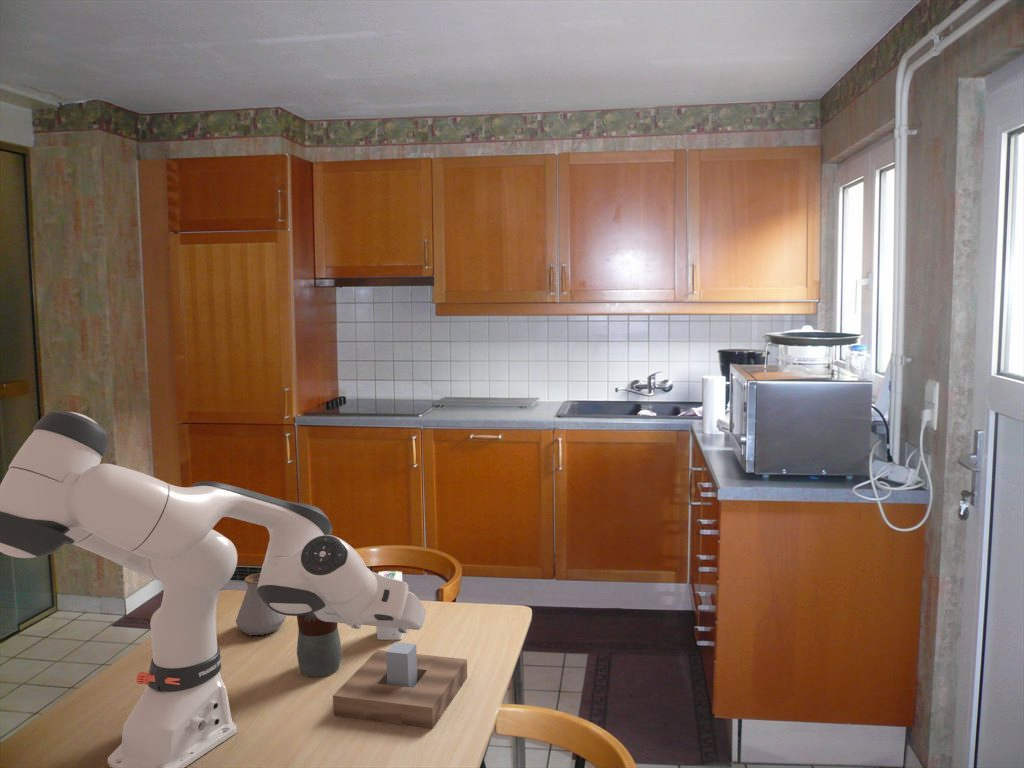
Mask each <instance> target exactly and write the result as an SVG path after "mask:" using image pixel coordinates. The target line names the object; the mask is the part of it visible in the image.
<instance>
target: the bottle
mask: <svg viewBox="0 0 1024 768" xmlns="http://www.w3.org/2000/svg"><path fill="white" fill-rule="evenodd" d="M296 620H297V627H298V633H297V643H296V644H297V645H296V656H297V662H298V667H299V669H300V672H301V674H302V675H304V676H306V677H310V678H322V677H328V676H330V675H332V674H334V673H337V672H338V670H339V669H340V665H341V661H342V651H343V649H342V643H341V637H340V633H339V628H338V623H336V622H325V621H322V620H320V619H318V618H317V616H316V615H315V614H314V612H313V613H311V614H307V615H302V616H296Z"/></svg>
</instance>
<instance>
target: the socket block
mask: <svg viewBox="0 0 1024 768" xmlns="http://www.w3.org/2000/svg"><path fill="white" fill-rule="evenodd" d="M386 651H387V650H381V649H380V650H379V649H377V650H376V651H375V652H373V654H372V655H371V656H369V658H368V659H367V660H366V661H365V662H364V663H363V664H362V665H361V666H360V667H359V668H358V669H357V670H356V671H355V672H354V673H353V674H352V675H351V677H349V678H348V679H347V681H346V682H344V684H343V685H342V686H341V687H340V688H338V690H337V691H335V693H334V694H333V695H332V703H333V704H332V705H333V707H332V708H333V716H334V717H342V718H350V719H357V720H365V721H373V722H382V723H389V724H396V725H404V726H411V727H420V728H429V729H434V728H435V726H436V725H437V724H438V722H439V721H440V719H441V717H442V716H443V715H444V713H445V712H444V711H447V708H449V706H450V704H451V703H452V702H453V700H454V698H455V696H456V695H457V694H458V692H459V691H460V689H462V687H463V685H464V684H463V683H465V682H466V681H467V679H468V659H467V658H458V657H448V656H439V655H438V656H437V655H428V654H421V653H417V680H418V682H417V684H416V685H415V686H414V688H411V687H402V686H394V685H387V666H386ZM465 680H466V681H465ZM452 699H453V700H452ZM442 714H443V715H442Z"/></svg>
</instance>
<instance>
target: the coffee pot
mask: <svg viewBox="0 0 1024 768" xmlns="http://www.w3.org/2000/svg"><path fill="white" fill-rule="evenodd" d="M260 574H261V572H258V573H253V574H252V573H251V574H250V575H247V576H246V577H245V578H244V582H245V584H246V585H247V589H246V592H245V594H244V596H243V600H242V602H241V605H240V608H239V610H238V613H237V616H236V620H235V624H236V625H237V627H238V629H240V630H241V631H242V632H243V633H245V632H246V633H247V634H250V635H249V636H251V635H262V636H265V635H264V634H267V635H269V634H268V633H270V634H272V633H271V632H273V633H275V632H276V631H277V630H278V629H279V628H280V627H281V626H282V625H283V624H284V622H285V621H286V617H287V615H283V614H280V613H277V612H275V611H273V610H272V609H270V608H269V607H268V606H267V605H266V604H265V603H264V602H263V601H262V600H261V599H260V597H259V596H258V593H257V587H258V582H259V578H260ZM278 627H279V628H278ZM277 628H278V629H277ZM276 629H277V630H276ZM275 630H276V631H275ZM274 631H275V632H274ZM246 633H245V634H246ZM247 634H246V635H247Z"/></svg>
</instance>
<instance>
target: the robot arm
mask: <svg viewBox="0 0 1024 768" xmlns="http://www.w3.org/2000/svg"><path fill="white" fill-rule="evenodd" d="M109 440H110V439H109V436H108V433H107V432H106V430H105V429H104V427H102V426H101V425H100V424H98V423H97V421H95V420H93V419H92V418H90V417H88V416H87V415H84V414H82V413H79V412H74V411H66V410H55V411H50V412H46V414H44V415H43V416H42V417H41V418H40V419H39V420H38V421H37V423H36V424H34V426H33V427H32V432H31V434H30V435H29V436H28V438H27V439H26V440H25V441H24V443H23V444H22V446H21V447H20V448H19V450H18V451H17V453H16V454H15V456H14V457H13V459H12V460H11V462H10V464H9V465H8V470H7V472H6V474H5V475H4V477H3V479H2V481H1V483H0V552H1V553H2V554H3V555H7V556H9V557H13V558H18V559H19V558H20V559H31V558H33V559H34V558H35V559H41V558H43V557H46V556H49V555H51V554H54V553H56V552H57V551H59V549H61V548H62V547H63V546H64V545H70V546H71V545H74V546H77V547H78V548H81V549H84V550H86V551H88V552H89V553H90V552H91V553H93V554H95V555H98V556H100V557H102V558H105V559H107V560H109V561H112V562H114V563H115V564H118V565H120V566H122V567H124V568H126V569H128V570H130V571H132V572H135V573H137V574H139V575H141V576H144V577H147V578H150V579H153V580H156V581H159V582H161V584H162V587H163V589H162V590H163V594H162V595H163V596H162V601H161V604H160V607H159V608H158V609H156V610H155V612H154V613H153V614H152V616H151V618H150V623H149V625H150V639H151V640H150V641H151V648H152V649H151V651H152V658H151V659H150V665H149V669H148V672H145V671H140V672H139V671H138V673H137V674H136V679H135V681H136V683H137V684H141V685H147V686H146V687H145V689H144V691H143V692H142V694H141V696H140V697H139V699H138V701H137V702H136V704H135V705H134V708H133V709H132V711H131V712H130V714H129V716H128V717H127V718H126V720H125V722H124V723H123V726H122V732H121V743H120V744H119V746H117V747H116V749H115V750H114V751H113V752H112V753H111V754H110V755H109V756H108V757H107V765H108V764H109V765H110V766H111V767H114V768H186V767H187V766H189V765H190V764H192V763H194V762H195V761H196V760H198V759H199V758H201V757H202V756H205V754H207V753H208V752H210V751H212V750H213V749H215V748H216V747H217V746H218V745H220V744H222V743H224V742H225V741H227V740H228V739H230V737H232V736H234V735H236V733H237V732H238V729H237V725H236V723H235V722H234V721H233V720H232V719H233V717H232V713H231V709H230V708H231V707H230V703H229V697H228V693H227V691H228V690H227V687H226V685H225V683H224V681H223V678H222V675H221V672H220V671H221V669H222V655H221V650H220V649H221V648H220V647H219V646H218V638H217V606H218V600H219V596H220V594H221V590H222V588H223V587H224V586H225V585H226V584H227V583H228V582H229V581H230V580H231V579H232V577H233V575H234V574H235V572H236V568H237V565H238V551H237V548H236V546H235V545H234V543H233V542H232V540H230V539H229V538H227V537H226V536H224V535H223V534H222V533H220V532H218V531H217V530H215V529H214V527H215V526H216V525H217V523H218V522H219V521H220V520H221V519H222V518H231V519H236V520H239V521H244V522H247V523H251V524H255V525H258V526H263V527H265V528H266V529H267V531H268V533H269V534H268V535H269V541H268V544H267V549H266V553H265V555H264V556H265V557H264V560H263V562H262V566H261V571H260V573H261V574H260V578H259V582H258V587H257V593H258V596H259V597H260V599H261V600H262V601H263V602H264V603H265V604H266V605H267V606H268V607H269V608H270V609H272V610H273V611H275V612H277V613H280V614H283V615H286V616H288V617H289V616H290V617H297V616H302V615H307V614H311V613H313V612H314V614H315V615H316V616H317V618H318V619H320V620H322V621H325V622H336V623H337V624H345V625H348V626H350V628H352V629H354V630H360V629H362V626H368V627H369V626H370V627H376V626H380V627H391V628H398V631H399V632H400V633H404V634H409V632H410V631H409V630H414V631H420V630H421V629H422V628H423V627H424V623H425V620H426V614H427V613H426V612H427V611H426V607H425V605H423V603H422V602H421V600H420V599H419V598H418V597H417V596H416V595H415V594H414V593H412V592H411V591H409V584H408V583H407V582H405V581H403V580H402V581H399V580H395V579H391V578H387V577H384V576H381V575H379V574H378V573H376V572H374V571H372V570H371V569H370V568H368V567H367V566H366V563H365V562H364V559H363V558H362V557H361V556H360V554H359V553H358V552H357V551H356V549H354V547H352V546H351V545H350V544H349V543H347V542H346V541H345V540H344V539H341V538H340V537H337V536H335V535H332V532H333V525H332V523H331V521H330V519H329V517H328V516H327V515H326V513H325V512H324V511H323V510H322V509H321V508H319V507H317V506H315V505H312V504H307V503H302V502H294V501H288V500H283V499H279V498H276V497H273V496H270V495H265V494H262V493H259V492H257V491H253V490H250V489H245V488H242V487H238V486H234V485H231V484H227V483H222V482H217V481H209V480H207V481H205V480H204V481H198V482H195V483H194V484H192V485H191V486H187V487H183V486H176V485H173V484H171V483H168V482H166V481H164V480H161V479H159V478H156V477H154V476H153V475H152V476H151V475H149V474H146V473H143V472H141V471H137V470H135V469H131V468H128V467H123V466H120V465H116V464H112V463H101V462H102V461H101V460H103V459H105V458H106V455H107V451H108V447H109V442H110V441H109ZM109 765H108V766H109ZM110 766H109V767H110ZM111 767H110V768H111Z"/></svg>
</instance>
